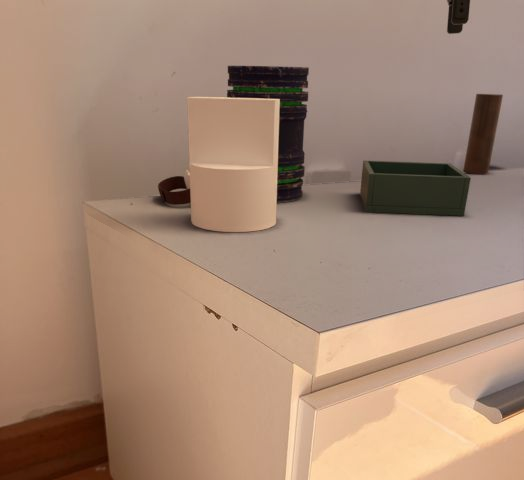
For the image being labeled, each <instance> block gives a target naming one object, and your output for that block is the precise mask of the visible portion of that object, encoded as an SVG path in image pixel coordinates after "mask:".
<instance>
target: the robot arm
mask: <svg viewBox="0 0 524 480" xmlns="http://www.w3.org/2000/svg"><path fill="white" fill-rule="evenodd" d="M446 1H447V2H446V3H447V6H448V14H447V25H446V32H447V34H449V35H455V34H461V33H462V31H463V26H464V25H466V24H467V23H468V21H469V19H470V8H471V0H446Z"/></svg>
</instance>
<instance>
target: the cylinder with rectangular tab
mask: <svg viewBox="0 0 524 480" xmlns="http://www.w3.org/2000/svg"><path fill="white" fill-rule="evenodd" d="M186 101H187V103H186V105H187V107H186V108H187V133H188V134H187V135H188V163H189V172H190V196H191V203H190V220H191V221H190V222H191V224H192V225H193V226H194V227H197V228H199V229H203V230H206V231H207V230H208V231H213V232H221V233H223V232H224V233H248V232H258V231H262V230H267V229H270V228H272V227H274V226H275V225H277V172H278V140H279V109H280V99H261V98H227V96H226V97H223V96H221V97H220V96H188V97H187V98H186Z"/></svg>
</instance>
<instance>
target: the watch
mask: <svg viewBox="0 0 524 480" xmlns="http://www.w3.org/2000/svg"><path fill="white" fill-rule="evenodd" d="M157 189H158V193H159V196H160V199H161V202H163V203H164V204H165V203H167V204H169V205H173V206H181V205H182V206H183V205H187V204H191V196H190V171H189V169H186V170H185V173H184V176H183V175H182V176H181V175H175V176H170V177H167V178H165V179H163V180H161V181H160V182H159V183H158V185H157ZM174 190H175V191H174ZM177 190H178V191H177Z"/></svg>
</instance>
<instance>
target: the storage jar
mask: <svg viewBox="0 0 524 480" xmlns="http://www.w3.org/2000/svg"><path fill="white" fill-rule="evenodd" d="M309 71H310V67H307V66H306V67H305V66H279V65H278V66H273V65H227V74H228V79H227V87H232V89H227V90H226V97H227V98H261V99H280V109H279V140H278V172H277V203H279V204H280V203H290V202H295V201H299V200H301V199H302V198H303V192H304V191H303V190H302V189H303V188H302V187H303V185H304V180H303V179H302V178H304V177H305V166H304V164H305V154H306V152H305V151H304V138H305V137H304V136H305V120H306V118H307V113H308V110H307V109H308V105H307V104H306V102H309V91H304V90H303V89H309V80H308V76H309V74H310V73H309ZM303 103H304V104H303ZM277 203H276V204H277Z"/></svg>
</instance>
